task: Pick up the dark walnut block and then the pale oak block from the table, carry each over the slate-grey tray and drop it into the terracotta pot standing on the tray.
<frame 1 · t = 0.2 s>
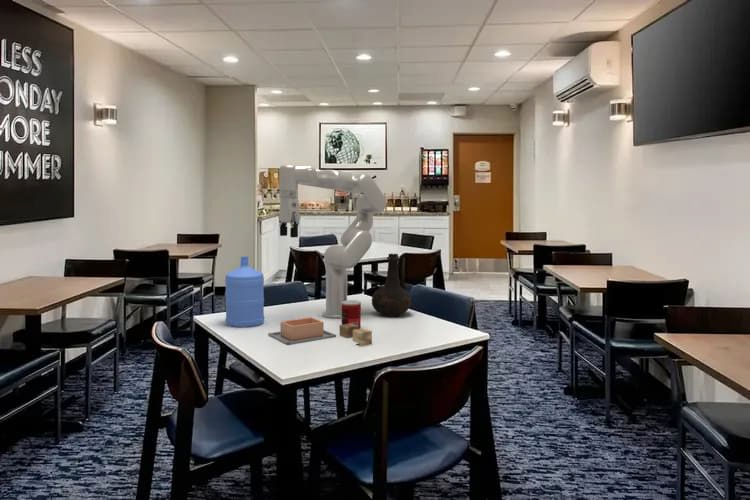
hand: (288, 236, 223), 36 cm above the table, tool pointing down, fingers open, 9 cm apart
brown vase: (391, 314, 244), on the table
water jug: (245, 323, 223), on the table
oak block: (362, 343, 194), on the table
walnut block: (348, 338, 202), on the table
pot: (302, 336, 200), resting on tray
tray: (302, 338, 200), on the table
canned food: (351, 329, 216), on the table
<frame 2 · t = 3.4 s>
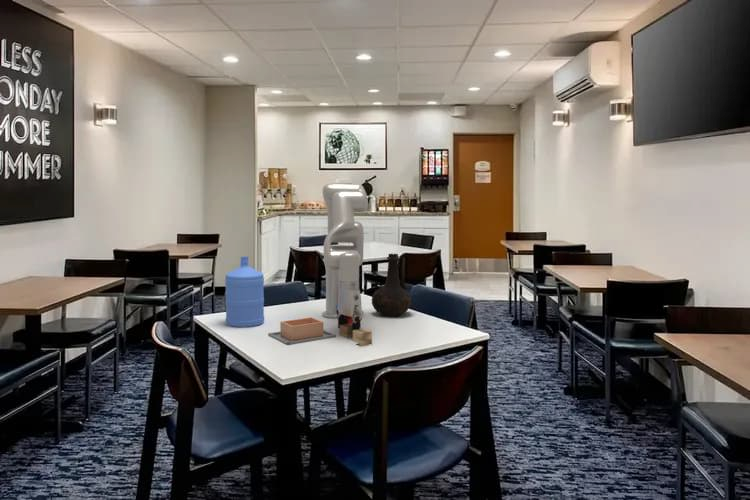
hand: (348, 330, 201), 3 cm above the table, tool pointing down, fingers open, 9 cm apart
oak block: (362, 344, 194), on the table, touching gripper
everything else where it was.
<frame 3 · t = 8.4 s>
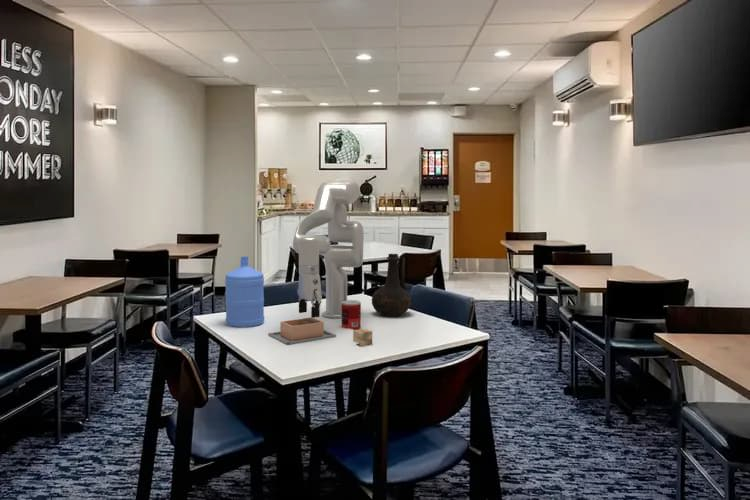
hand: (309, 314, 201), 9 cm above the table, tool pointing down, fingers open, 9 cm apart
oak block: (362, 344, 194), on the table
walnut block: (309, 333, 202), point 2 cm above the table, touching pot
everything else where it was.
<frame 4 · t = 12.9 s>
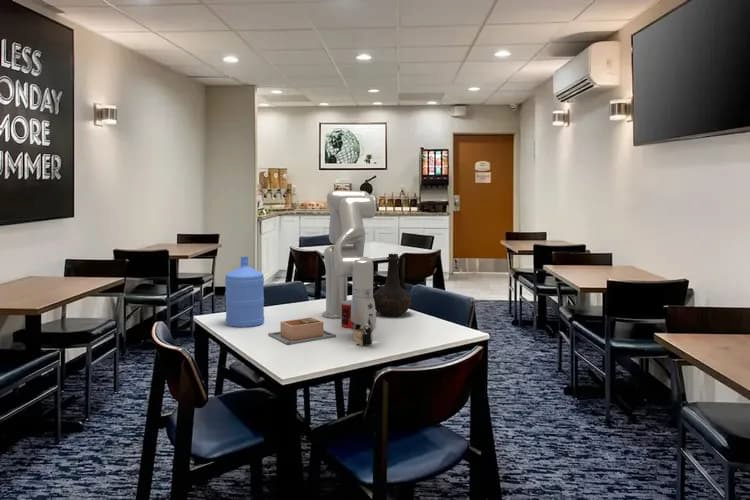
hand: (362, 342, 194), 1 cm above the table, tool pointing down, fingers closed on oak block, 5 cm apart
oak block: (362, 343, 194), on the table, touching gripper
everything else where it was.
when the fingers open (8 cm above the table, at t = 17.1 s): oak block drops 6 cm, resting on pot.
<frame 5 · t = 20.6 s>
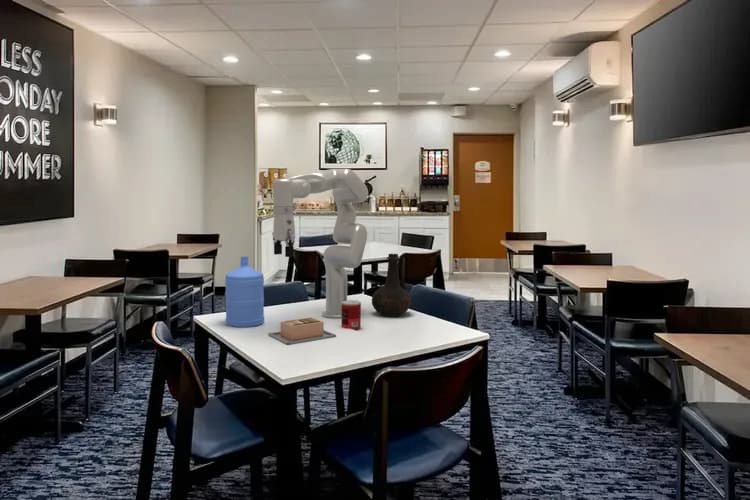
hand: (283, 255, 207), 30 cm above the table, tool pointing down, fingers open, 9 cm apart
oak block: (294, 335, 198), point 2 cm above the table, touching pot
everything else where it was.
at the end: walnut block inside the target area on the pot (3.0 cm from its centre), point 0.6 cm above the pot's base; oak block inside the target area on the pot (3.0 cm from its centre), point 0.6 cm above the pot's base; the gripper is holding nothing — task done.
